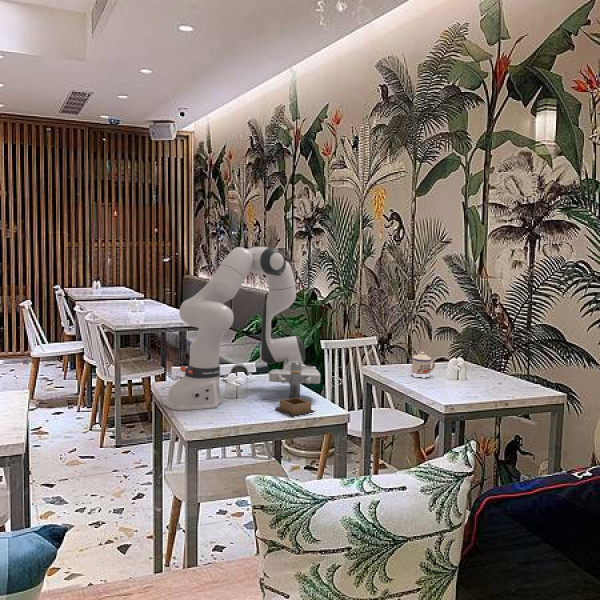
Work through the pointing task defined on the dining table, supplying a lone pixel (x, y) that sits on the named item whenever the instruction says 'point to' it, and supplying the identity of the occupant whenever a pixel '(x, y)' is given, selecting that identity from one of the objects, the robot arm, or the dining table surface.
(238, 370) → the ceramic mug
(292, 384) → the air tube
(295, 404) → the stove collar
